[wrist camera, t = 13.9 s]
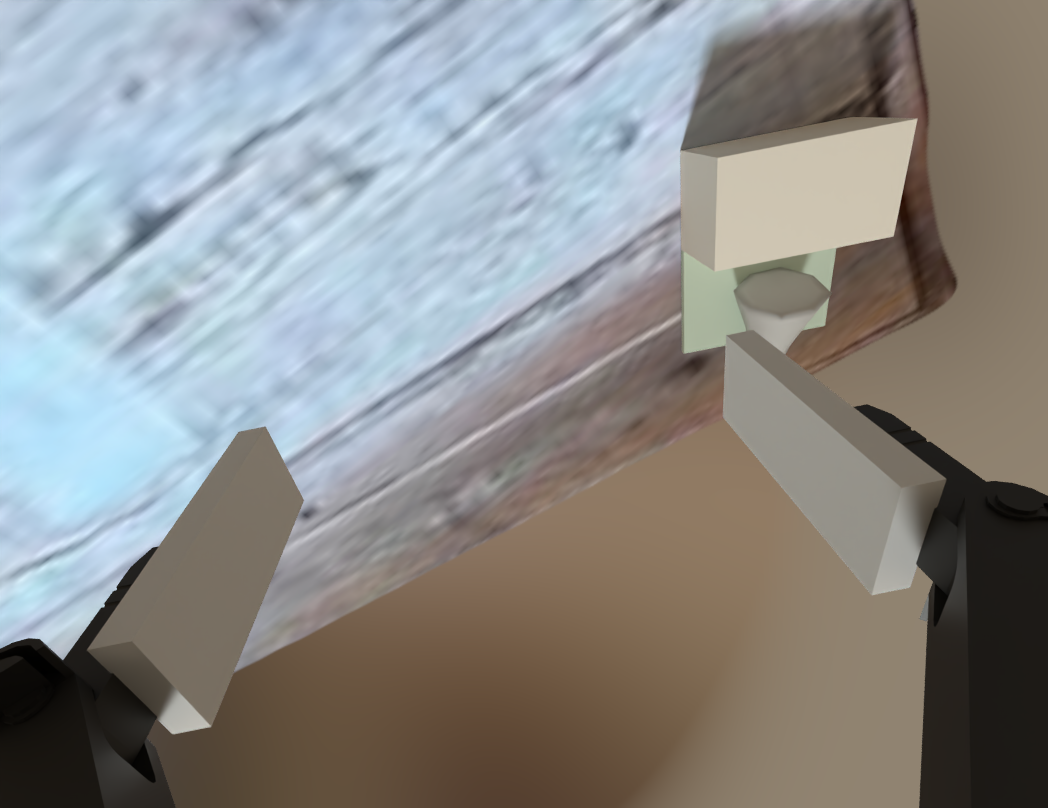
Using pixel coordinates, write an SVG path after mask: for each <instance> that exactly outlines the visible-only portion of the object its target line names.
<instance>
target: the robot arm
mask: <svg viewBox="0 0 1048 808" xmlns="http://www.w3.org/2000/svg"><path fill="white" fill-rule="evenodd" d="M723 418H724V419H725V420H726V421H727V423H728V424H729V425H730V426H731V427H732V429H733V430H734V431H735V432H736V433H737V435H738V436H739V437H740V438H741V439H742V440H743V442H744V443H745V444H746V445H747V447H748V448H749V449H750V450H751V451H752V452H753V454H754V455H755V456H756V457H757V459H758V460H759V461H760V462H761V463H762V464H763V466H764V467H765V468H766V469H767V470H768V472H769V473H770V474H771V475H772V476H773V478H774V479H775V480H776V481H777V482H778V484H779V485H780V486H781V487H782V488H783V490H784V491H785V492H786V493H787V494H788V496H789V497H790V498H791V499H792V500H793V502H794V503H795V504H796V505H797V506H798V508H799V509H800V510H801V511H802V512H803V514H804V515H805V516H806V517H807V518H808V519H809V520H810V522H811V523H812V524H813V526H814V527H815V528H816V529H817V530H818V532H819V533H820V534H821V535H822V536H823V538H824V539H825V540H826V541H827V542H828V543H829V545H830V546H831V547H832V548H833V550H834V551H835V552H836V553H837V554H838V556H839V557H840V558H841V559H842V560H843V561H844V563H845V564H846V565H847V566H848V568H849V569H850V570H851V571H852V572H853V573H854V575H855V576H856V577H857V578H858V579H859V581H860V582H861V583H862V584H863V585H864V587H865V588H866V589H867V590H868V591H869V593H870V594H871V595H875V594H880V593H884V592H890V591H895V590H900V589H905V588H910V586H911V583H912V580H913V577H914V574H915V571H916V568H917V566H918V567H919V568H921V570H922V571H923V572H924V573H925V574H926V575H927V576H928V577H929V578H930V579H931V580H932V581H933V584H932V586H931V589H930V592H929V594H928V597H927V600H926V603H925V605H924V608H923V611H922V613H921V616H920V619H921V620H924V621H927V620H928V625H927V647H926V669H925V691H924V715H923V735H922V759H921V780H920V802H919V808H1048V496H1047V495H1045V494H1043V493H1040V492H1038V491H1036V490H1034V489H1032V488H1028V487H1025V486H1021V485H1018V484H1014V483H1008V482H998V481H990V482H986V481H984V480H983V479H982V478H980V477H979V476H977V475H976V474H975V473H973V472H972V471H970V470H969V469H968V468H966V467H965V466H964V465H962V464H961V463H959V462H958V461H957V460H955V459H954V458H952V457H951V456H950V455H948V454H947V453H945V452H944V451H943V450H941V449H940V448H938V447H937V446H936V445H934V444H933V443H931V442H927V441H926V438H925V437H923V436H922V435H920V434H919V433H917V432H916V431H912V430H911V427H909V426H908V425H906V424H905V423H904V422H902V421H901V420H899V419H898V418H896V417H895V416H894V415H892V414H890V413H888V412H885V411H883V410H880V409H877V408H875V407H873V406H870V405H862V406H856V407H852V406H851V405H850V404H849V403H847V402H846V401H845V400H843V399H842V398H841V397H839V396H838V395H837V394H836V393H834V392H833V391H832V390H830V389H829V388H828V387H826V386H825V385H824V384H823V383H821V382H820V381H818V380H817V379H816V378H815V377H814V376H812V375H811V374H810V373H808V372H807V371H806V370H804V369H803V368H802V367H801V366H799V365H798V364H797V363H795V362H794V361H793V360H791V359H790V358H789V357H788V356H786V355H785V354H784V353H782V352H781V351H780V350H778V349H777V348H776V347H775V346H773V345H772V344H771V343H769V342H768V341H767V340H765V339H764V338H763V337H762V336H760V335H759V334H758V333H756V332H755V331H754V330H750V331H745V332H740V333H735V334H730V335H726V353H725V377H724V402H723ZM303 501H304V500H303V498H302V496H301V494H300V492H299V490H298V488H297V486H296V484H295V482H294V480H293V478H292V476H291V475H290V473H289V471H288V469H287V467H286V465H285V463H284V461H283V459H282V457H281V455H280V453H279V451H278V450H277V448H276V446H275V444H274V442H273V440H272V438H271V436H270V434H269V432H268V430H267V428H266V427H261V428H256V429H251V430H246V431H241V432H238V434H237V435H236V436H235V438H234V439H233V441H232V442H231V444H230V445H229V447H228V448H227V449H226V451H225V452H224V454H223V455H222V457H221V458H220V459H219V461H218V462H217V464H216V465H215V467H214V468H213V469H212V471H211V472H210V474H209V475H208V477H207V478H206V480H205V481H204V482H203V484H202V485H201V487H200V488H199V490H198V491H197V492H196V494H195V495H194V497H193V498H192V500H191V501H190V503H189V504H188V505H187V507H186V508H185V510H184V511H183V513H182V514H181V515H180V517H179V518H178V520H177V521H176V523H175V524H174V526H173V527H172V528H171V530H170V531H169V533H168V534H167V536H166V537H165V538H164V540H163V541H162V543H161V544H160V546H159V547H154V548H152V549H150V550H149V551H148V552H147V553H146V554H145V555H144V556H143V557H141V558H140V559H139V560H138V561H137V562H136V563H135V564H134V565H133V566H131V568H130V569H129V570H128V572H127V573H126V574H125V576H124V577H123V579H122V580H121V581H120V583H119V584H118V585H117V590H116V591H113V592H112V594H111V595H110V596H109V598H108V599H107V601H106V602H105V603H104V604H105V607H103V608H101V609H100V610H99V612H98V613H97V614H96V616H95V617H94V619H93V620H92V621H91V623H90V624H89V625H88V627H87V628H86V630H85V631H84V632H83V634H82V635H81V636H80V638H79V639H78V641H77V642H76V643H75V645H74V646H73V647H72V649H71V650H70V652H69V653H68V654H67V656H66V657H65V658H64V660H62V659H61V658H60V657H58V656H57V655H56V654H55V653H54V652H53V651H52V650H51V649H50V648H49V647H48V646H47V645H46V644H44V643H43V642H42V641H41V640H40V639H31V638H28V639H24V640H21V641H17V642H14V643H11V644H9V645H7V646H5V647H3V648H1V649H0V808H176V807H175V804H174V801H173V798H172V795H171V792H170V789H169V786H168V783H167V780H166V777H165V775H164V771H163V768H162V765H161V762H160V759H159V756H158V753H157V750H156V748H155V746H153V744H152V743H151V742H150V741H149V740H148V739H147V735H148V734H149V732H150V730H151V728H152V726H153V724H154V722H155V720H156V718H157V719H158V720H159V721H160V722H161V723H162V724H163V725H164V726H165V727H166V728H167V729H168V730H169V731H170V732H171V733H172V734H177V733H182V732H186V731H192V730H197V729H202V728H207V727H211V726H212V724H213V721H214V718H215V716H216V714H217V711H218V709H219V707H220V704H221V702H222V699H223V697H224V694H225V692H226V689H227V687H228V684H229V682H230V680H231V677H232V675H233V672H234V670H235V667H236V665H237V663H238V660H239V658H240V655H241V653H242V650H243V648H244V645H245V643H246V641H247V638H248V636H249V633H250V631H251V628H252V626H253V623H254V621H255V619H256V616H257V614H258V611H259V609H260V606H261V604H262V601H263V599H264V597H265V594H266V592H267V589H268V587H269V584H270V582H271V579H272V577H273V575H274V572H275V570H276V567H277V565H278V562H279V560H280V557H281V555H282V553H283V550H284V548H285V545H286V543H287V540H288V538H289V535H290V533H291V531H292V528H293V526H294V523H295V521H296V518H297V516H298V513H299V511H300V509H301V506H302V504H303Z"/></svg>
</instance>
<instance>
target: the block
mask: <svg viewBox="0 0 1048 808" xmlns="http://www.w3.org/2000/svg"><path fill="white" fill-rule="evenodd" d="M916 123H917V119H915V118H874V117H848V118H843V119H838V120H833V121H828V122H823V123H818V124H813V125H807V126H802V127H797V128H792V129H787V130H782V131H777V132H772V133H767V134H762V135H757V136H752V137H747V138H742V139H737V140H731V141H726V142H721V143H716V144H711V145H706V146H701V147H696V148H691V149H686V150H681V151H680V164H681V250H682V251H684V252H685V253H687V254H688V255H690V256H691V257H693V258H694V259H696V260H697V261H699V262H701V263H702V264H704V265H705V266H707V267H708V268H710V269H711V270H713V271H714V272H716V271H721V270H726V269H731V268H736V267H741V266H746V265H751V264H756V263H761V262H766V261H771V260H777V259H782V258H787V257H792V256H797V255H802V254H807V253H812V252H817V251H822V250H827V249H832V248H837V247H842V246H847V245H852V244H857V243H863V242H868V241H873V240H878V239H883V238H888V237H893V236H894V231H895V226H896V221H897V216H898V212H899V207H900V202H901V197H902V192H903V187H904V182H905V177H906V172H907V167H908V162H909V158H910V153H911V148H912V143H913V138H914V133H915V128H916Z"/></svg>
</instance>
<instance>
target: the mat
mask: <svg viewBox="0 0 1048 808" xmlns="http://www.w3.org/2000/svg"><path fill="white" fill-rule="evenodd" d="M835 253H836V248H832V249H827V250H822V251H817V252H812V253H807V254H802V255H797V256H792V257H787V258H782V259H777V260H771V261H766V262H761V263H756V264H751V265H746V266H741V267H736V268H731V269H726V270H721V271H716V272H714V271H713V270H711V269H710V268H708V267H707V266H705V265H704V264H702V263H701V262H699V261H697V260H696V259H694V258H693V257H691V256H690V255H688V254H687V253H685V252H684V251H682V250H681V293H682V352H683V353H690V352H695V351H700V350H705V349H710V348H715V347H720V346H725V345H726V335H730V334H735V333H740V332H745V331H746V328H745V324H744V321H743V318H742V315H741V312H740V310H739V307H738V304H737V301H736V298H735V295H734V292H733V290H734V289H736V288H737V287H738V286H739V285H740V284H741V283H742V282H743V281H744V280H745V279H746V278H747V277H748V276H749V275H750V274H754V273H758V272H762V271H766V270H770V269H774V268H778V267H783V268H787V269H791V270H794V271H798V272H802V273H806V274H810V275H813V276H814V277H815V278H816V279H818V280H819V281H820V282H821V283H822V284H823V285H824V286H825V287H826V288H827V289H828V290H829V291H830V287H831V280H832V274H833V267H834V260H835ZM828 301H829V298H828V299H827V300H826V302H825V303H824V304H823V305H822V307H821V308H820V309H819V310H818V311H817V312H816V314H815V315H814V316H813V317H812V318H811V320H810V321H809V322H808V323H807V324H806V326H805V327H804V328H803V330H806V329H811V328H816V327H821V326H825V321H826V314H827V307H828Z"/></svg>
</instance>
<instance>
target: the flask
mask: <svg viewBox="0 0 1048 808" xmlns="http://www.w3.org/2000/svg"><path fill="white" fill-rule="evenodd" d="M733 292H734V295H735V298H736V301H737V304H738V307H739V310H740V312H741V315H742V318H743V321H744V324H745V328H746V331H750V330H754V331H755V332H756V333H758V334H759V335H760V336H762V337H763V338H764V339H765V340H767V341H768V342H769V343H771V344H772V345H773V346H775V347H776V348H777V349H778V350H780V351H781V352H782V353H784V354H786V352H787V351H788V349H789V347H790V345H791V344H792V342H793V341H794V340H795V339H796V337H797V336H798V335H799V333H800V332H801V331H802V330H803V328H804V327H805V326H806V324H807V323H808V322H809V321H810V320H811V318H812V317H813V316H814V315H815V314H816V312H817V311H818V310H819V309H820V308H821V307H822V305H823V304H824V303H825V302H826V300H827V299H828V298H829V297H830V295H831V294H832V293H831V292H830V291H829V290H828V289H827V288H826V287H825V286H824V285H823V284H822V283H821V282H820V281H819V280H818V279H816V278H815V277H814V276H813V275H810V274H806V273H802V272H798V271H794V270H791V269H787V268H783V267H778V268H774V269H770V270H766V271H762V272H758V273H754V274H750V275H749V276H748V277H747V278H746V279H745V280H744V281H743V282H742V283H741V284H740V285H739V286H738V287H737V288H736V289H734V290H733Z"/></svg>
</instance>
